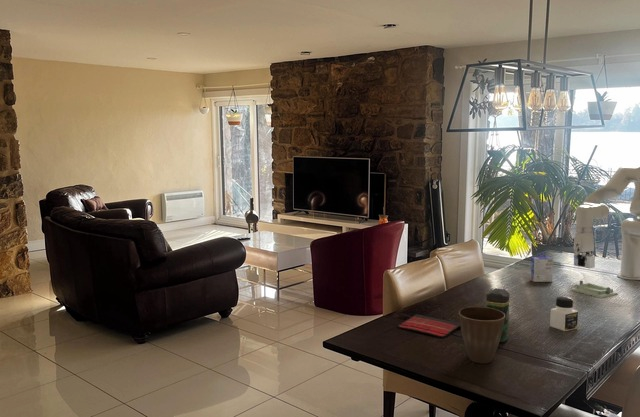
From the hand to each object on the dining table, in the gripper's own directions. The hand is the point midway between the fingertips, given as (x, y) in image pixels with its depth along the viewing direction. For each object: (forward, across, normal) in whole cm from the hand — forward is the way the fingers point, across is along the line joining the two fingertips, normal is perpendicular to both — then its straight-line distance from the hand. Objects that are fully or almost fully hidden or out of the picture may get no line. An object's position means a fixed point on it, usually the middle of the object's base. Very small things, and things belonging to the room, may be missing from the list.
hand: (584, 264), depth 284 cm
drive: (+1, 0, 0) cm, 1 cm away
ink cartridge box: (+9, +15, -14) cm, 22 cm away
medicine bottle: (+7, +66, +42) cm, 78 cm away
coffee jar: (+5, +98, +39) cm, 105 cm away
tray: (+9, +11, +14) cm, 20 cm away
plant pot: (+4, +116, +51) cm, 127 cm away
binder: (+5, +112, +17) cm, 113 cm away
